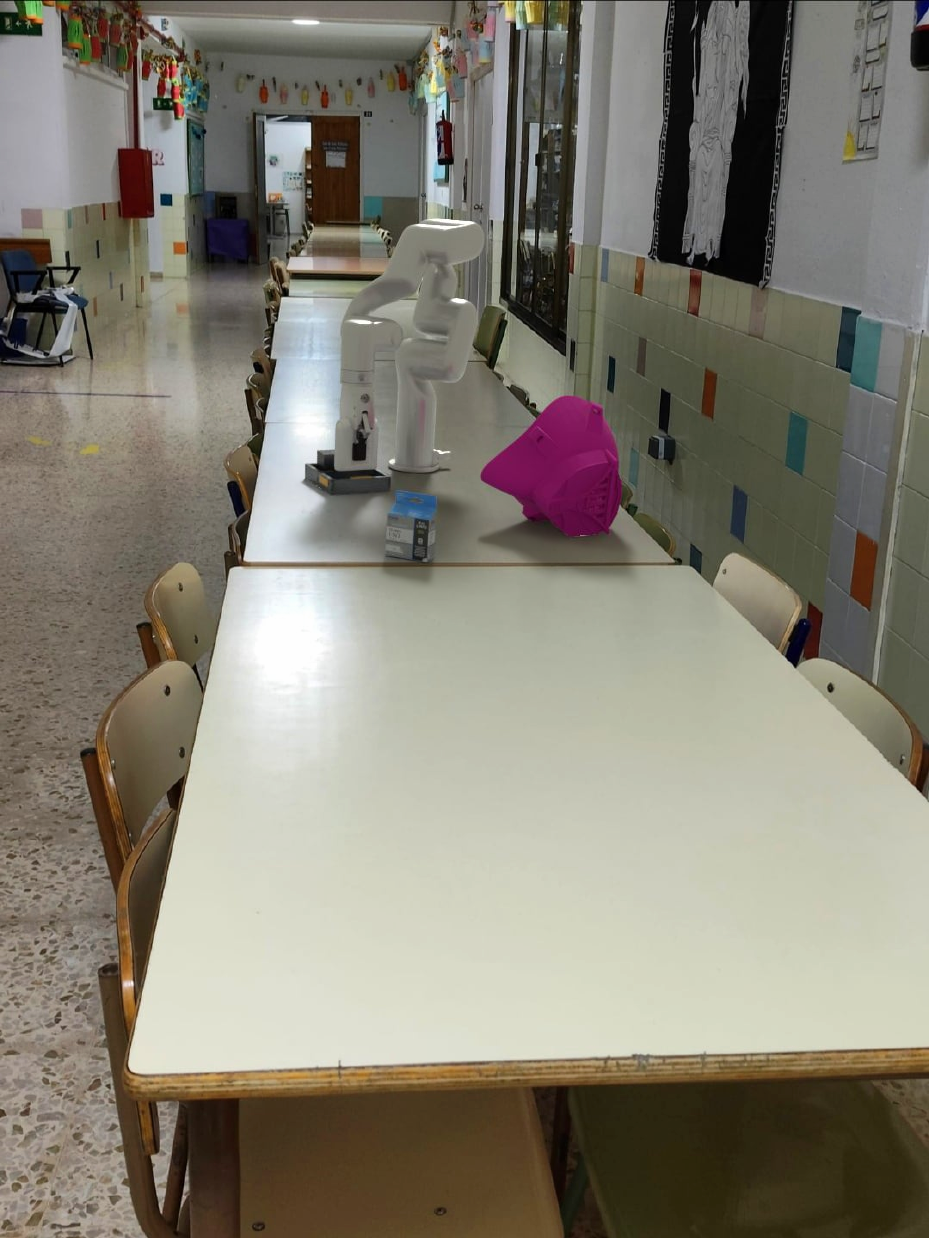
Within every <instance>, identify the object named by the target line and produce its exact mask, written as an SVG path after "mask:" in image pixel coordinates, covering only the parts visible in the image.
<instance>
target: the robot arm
mask: <svg viewBox="0 0 929 1238" xmlns="http://www.w3.org/2000/svg"><path fill="white" fill-rule="evenodd" d="M485 241H486V240H485V233H484V230H483V228H482V227H481V225H479V224H478V223H477V222H474V221H466V220H456V219H455V220H453V219H446V218H445V219H444V218H430V219H429V218H428V219H424V220H422V221H420V222H419V223H415V224H410V225H409V226H406V228H404V230H403V231H402V233H401V234H400V238H399V239H398V242H397V244H396V246H395V247H394V250H393V252H392V254H391V257H390V259H389V261H388V263H387V265H386V266H385V270H384V272H383V273H382V275H380V276H378V277H377V278H375V279H374V280H372V281H371V282H370V283H368V284H367V285H365V286H364V287H363V288H362V289H360V290H359V291H358V292H357V293H356V294H355V295H354V297H353V298H352V299H351V300H350V302H349V305H348V307H347V309H346V312H345V314H344V315H343V318H342V321H341V325H340V328H339V329H340V339H341V344H340V346H341V347H340V373H339V374H340V375H339V376H340V377H339V384H341V389H340V397H339V398H340V399H339V401H340V402H339V420H340V419H342V418H344V417H346V418H348V419H349V421H350V424H351V428H352V429H353V430H354V442H355V443H353V447H352V460H353V461H365V460H366V447H367V438H368V436H369V435H370V433H371V430H373V429H374V427H375V419H376V417H375V416H376V412H375V411H376V410H375V409H376V407H375V404H376V403H375V402H376V401H375V393H374V384H375V367H376V366H375V365H376V364H375V362H376V353H382V354H383V353H384V354H386V353H387V354H388V353H392V352H394V361H395V362H394V363H395V368H396V377H397V379H396V380H397V404H396V428H395V447H394V448H395V450H394V451H395V452H394V458H391V459H390V460H389V461H388V467H389V468H390V469H393V470H396V471H399V472H403V473H415V474H416V473H418V474H420V473H423V474H424V473H432V472H436V471H438V470H439V469H440V463H439V461H440V460H451V458H452V453H451V451H442V450H438V449H435V433H436V432H435V430H436V418H437V417H436V414H437V393H436V391H435V389H434V388H435V387H434V386H433V384H432V382H433V381H434V382H441V383H446V384H447V383H448V384H452V383H453V384H454V383H457V382H458V381H460V380H461V379H462V377H463V376H464V374H465V371H466V369H467V365H468V361H469V357H470V354H471V350H472V347H473V345H474V341H475V338H476V337H475V336H476V332H477V328H478V312H477V308H476V306H475V305H474V304H473V303H472V302H471V301H469V300H467V299H462V298H455V296H456V293H457V287H458V277H457V273H456V270H455V269H454V266H455V265H458V264H462V263H466V262H469V261H473V260H474V259H476V258H477V257H479V256H480V255H481V253H482V251H483V249H484V246H485ZM453 265H454V266H453ZM419 287H420V289H419ZM418 289H419V293H418V295H417V299H416V304H415V307H414V311H413V315H412V321H411V322H412V326H413V329H414V330H415V331H416V333H419V334H420V335H424V336H429V337H435V338H441V339H447V341H443V340H435V339H430V338H422V337H409V338H405V339H404V330H403V328H402V326H401V325H400V323H399V322H397V321H396V320H394V319H392V318H391V319H390V318H386V317H379V316H372V314H373V313H374V312H376V311H377V310H378V309H380V308H382V307H384V306H387V305H390V304H393V303H395V302H399V301H402V300H404V299H405V300H406V299H408V298H410V297H413V295H415V294H416V292H417V291H418ZM431 381H432V382H431ZM361 426H362V428H363V429H358V428H359V427H361ZM358 432H362V433H360V434H359V436H358Z"/></svg>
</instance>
